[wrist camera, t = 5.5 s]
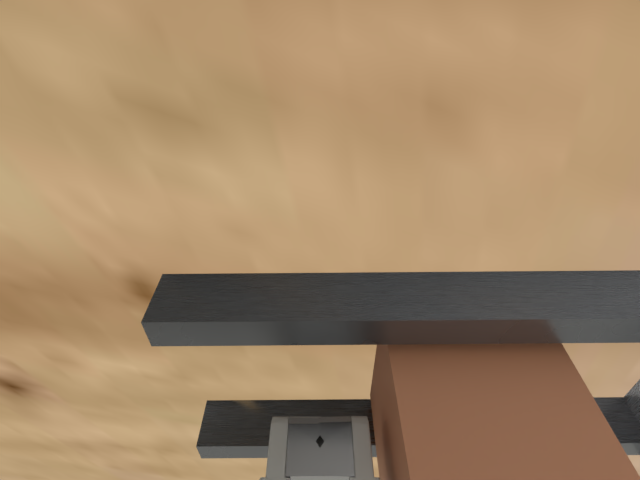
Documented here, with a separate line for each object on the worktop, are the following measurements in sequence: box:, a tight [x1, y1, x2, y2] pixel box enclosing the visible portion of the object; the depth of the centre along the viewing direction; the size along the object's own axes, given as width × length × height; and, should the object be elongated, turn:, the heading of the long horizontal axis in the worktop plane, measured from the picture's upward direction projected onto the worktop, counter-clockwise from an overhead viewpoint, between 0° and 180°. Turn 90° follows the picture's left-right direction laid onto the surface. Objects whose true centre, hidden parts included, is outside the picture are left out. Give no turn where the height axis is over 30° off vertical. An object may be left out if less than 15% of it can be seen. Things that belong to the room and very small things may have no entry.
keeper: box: [370, 343, 640, 480], centre depth 12 cm, size 5×5×6 cm
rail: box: [141, 270, 640, 458], centre depth 12 cm, size 19×8×5 cm, turn 90°
